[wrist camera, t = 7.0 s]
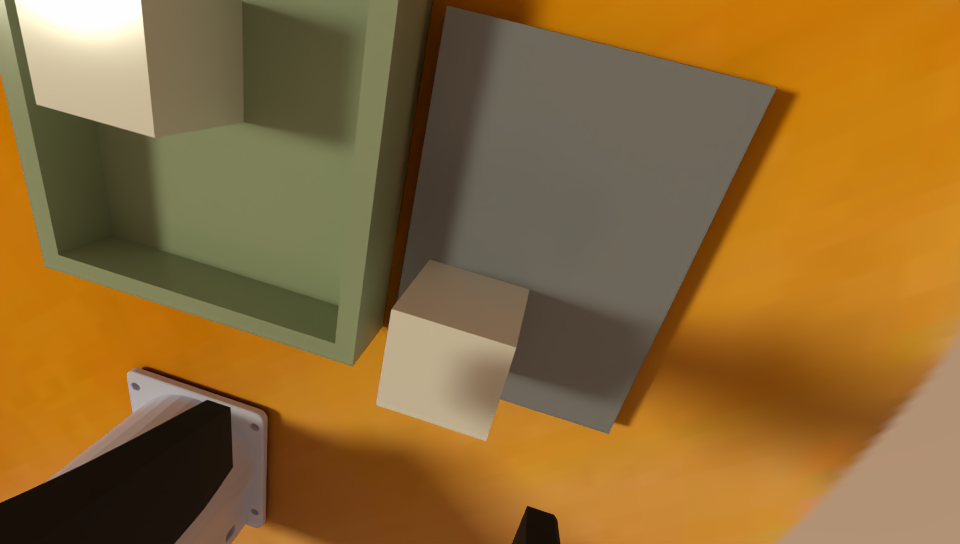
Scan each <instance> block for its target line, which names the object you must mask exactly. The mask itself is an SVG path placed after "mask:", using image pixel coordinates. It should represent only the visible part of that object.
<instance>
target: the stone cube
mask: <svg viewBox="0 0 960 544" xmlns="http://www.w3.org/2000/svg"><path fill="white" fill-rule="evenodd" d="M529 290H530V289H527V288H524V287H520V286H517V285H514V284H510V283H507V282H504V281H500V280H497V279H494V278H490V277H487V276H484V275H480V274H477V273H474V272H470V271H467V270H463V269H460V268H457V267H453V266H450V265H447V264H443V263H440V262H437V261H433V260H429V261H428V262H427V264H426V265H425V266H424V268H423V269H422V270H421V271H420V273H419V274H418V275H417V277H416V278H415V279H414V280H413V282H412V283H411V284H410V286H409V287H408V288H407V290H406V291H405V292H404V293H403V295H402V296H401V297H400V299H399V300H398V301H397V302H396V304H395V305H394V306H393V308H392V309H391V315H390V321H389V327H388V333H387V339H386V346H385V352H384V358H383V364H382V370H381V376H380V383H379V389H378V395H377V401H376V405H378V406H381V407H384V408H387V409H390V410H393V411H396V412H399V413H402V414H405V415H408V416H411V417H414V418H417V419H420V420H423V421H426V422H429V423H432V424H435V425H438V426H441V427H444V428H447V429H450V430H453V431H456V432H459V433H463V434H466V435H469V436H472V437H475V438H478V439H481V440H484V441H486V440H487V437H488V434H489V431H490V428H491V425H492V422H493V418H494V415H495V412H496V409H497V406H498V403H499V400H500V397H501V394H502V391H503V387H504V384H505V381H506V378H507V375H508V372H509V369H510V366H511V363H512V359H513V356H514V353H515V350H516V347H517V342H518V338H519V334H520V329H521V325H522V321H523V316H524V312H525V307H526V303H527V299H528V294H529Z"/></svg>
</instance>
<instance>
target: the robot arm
mask: <svg viewBox="0 0 960 544" xmlns="http://www.w3.org/2000/svg"><path fill="white" fill-rule="evenodd" d="M127 380H128V387H129V393H130V399H131V406H132V412H133V414H131V415H130V416H129V417H128V418H126V419H125V420H124V421H122V422H121V423H120V424H119V425H117V426H116V427H115V428H113V429H112V430H111V431H110V432H108V433H107V434H106V435H104V436H103V437H102V438H101V439H99V440H98V441H97V442H95V443H94V444H93V445H92V446H90V447H89V448H88V449H86V450H85V451H84V452H83V453H81V454H80V455H79V456H77V457H76V458H75V459H74V460H72V461H71V462H70V463H68V464H67V465H66V466H65V467H63V468H62V469H61V470H59V471H58V472H57V473H56V474H54V475H53V476H52V477H51V478H49V479H48V480H47V481H45V482H44V483H43V484H41V485H39V486H37V487H35V488H32V489H30V490H28V491H26V492H24V493H21V494H19V495H17V496H15V497H13V498H10V499H8V500H6V501H4V502H1V503H0V544H231V543H232V542H233V541H234V539H235V538H236V537H237V535H238V534H239V532H240V531H241V530H242V528H243V527H244V526H245V524H247V525H250V526H252V527H255V528H260V527H262V526H263V524H264V523H265V520H266V476H267V427H268V418H267V415H266V413H265V412H264V411H263V410H261V409H258V408H255V407H253V406H250V405H247V404H244V403H241V402H238V401H235V400H232V399H229V398H226V397H223V396H220V395H217V394H214V393H211V392H208V391H205V390H202V389H199V388H196V387H193V386H190V385H187V384H184V383H181V382H179V381H176V380H173V379H170V378H167V377H164V376H161V375H158V374H155V373H152V372H149V371H146V370H143V369H140V368H133V369H132V370H131V371H129V372H128V373H127ZM512 544H560V538H559V531H558V522H557V519H556V517H555V516H554V515H553V514H550V513H547V512H544V511H541V510H538V509H535V508H532V507H529V506H527V508H526V510H525V513H524V515H523V518H522V520H521V523H520V525H519V528H518V530H517V533H516V535H515V538H514V540H513V543H512Z"/></svg>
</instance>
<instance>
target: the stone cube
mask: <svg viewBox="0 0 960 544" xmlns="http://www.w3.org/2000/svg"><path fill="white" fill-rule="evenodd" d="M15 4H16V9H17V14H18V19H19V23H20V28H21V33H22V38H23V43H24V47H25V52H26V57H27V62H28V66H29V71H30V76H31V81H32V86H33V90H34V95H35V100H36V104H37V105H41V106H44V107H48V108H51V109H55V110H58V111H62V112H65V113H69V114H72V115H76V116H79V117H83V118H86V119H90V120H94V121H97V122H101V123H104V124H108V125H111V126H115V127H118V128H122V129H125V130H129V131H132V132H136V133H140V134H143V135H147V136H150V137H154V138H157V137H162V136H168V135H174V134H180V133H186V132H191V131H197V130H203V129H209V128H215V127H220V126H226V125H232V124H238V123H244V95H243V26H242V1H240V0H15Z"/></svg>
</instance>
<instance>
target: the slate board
mask: <svg viewBox="0 0 960 544" xmlns="http://www.w3.org/2000/svg"><path fill="white" fill-rule="evenodd" d="M776 88H777V87H773V86H769V85H765V84H761V83H757V82H753V81H749V80H745V79H741V78H737V77H733V76H729V75H725V74H721V73H717V72H713V71H709V70H705V69H701V68H697V67H693V66H689V65H685V64H681V63H677V62H673V61H669V60H665V59H661V58H657V57H653V56H649V55H645V54H641V53H637V52H633V51H629V50H625V49H621V48H617V47H613V46H609V45H605V44H601V43H597V42H593V41H589V40H585V39H581V38H577V37H573V36H569V35H565V34H561V33H557V32H553V31H549V30H545V29H541V28H537V27H533V26H529V25H525V24H521V23H517V22H513V21H509V20H505V19H501V18H497V17H493V16H489V15H485V14H480V13H476V12H472V11H468V10H464V9H460V8H456V7H452V6H448V5H447V7H446V13H445V19H444V25H443V31H442V37H441V43H440V49H439V55H438V61H437V67H436V72H435V78H434V84H433V90H432V96H431V102H430V108H429V114H428V120H427V126H426V132H425V138H424V144H423V150H422V156H421V162H420V168H419V174H418V180H417V186H416V192H415V198H414V204H413V210H412V216H411V222H410V228H409V234H408V240H407V246H406V252H405V258H404V264H403V270H402V276H401V282H400V287H399V293H398V299H397V301H398V300H399V299H400V297H401V296H402V295H403V293H404V292H405V291H406V290H407V288H408V287H409V286H410V284H411V283H412V282H413V280H414V279H415V278H416V277H417V275H418V274H419V273H420V271H421V270H422V269H423V268H424V266H425V265H426V264H427V262H428V261H429V260H433V261H437V262H440V263H443V264H447V265H450V266H453V267H457V268H460V269H463V270H467V271H470V272H474V273H477V274H480V275H484V276H487V277H490V278H494V279H497V280H500V281H504V282H507V283H510V284H514V285H517V286H520V287H524V288H527V289H530V290H529V294H528V299H527V303H526V307H525V312H524V316H523V321H522V325H521V329H520V334H519V338H518V342H517V347H516V350H515V353H514V356H513V359H512V363H511V366H510V369H509V372H508V375H507V378H506V381H505V384H504V387H503V391H502V394H501V397H500V399H501V400H504V401H508V402H511V403H514V404H517V405H520V406H523V407H526V408H529V409H533V410H536V411H539V412H542V413H545V414H548V415H551V416H554V417H557V418H561V419H564V420H567V421H570V422H573V423H576V424H579V425H582V426H585V427H589V428H592V429H595V430H598V431H601V432H604V433H607V434H609V432H610V430H611V428H612V426H613V424H614V422H615V419H616V417H617V415H618V413H619V411H620V409H621V407H622V405H623V403H624V401H625V399H626V397H627V395H628V393H629V391H630V389H631V387H632V384H633V382H634V380H635V378H636V376H637V374H638V372H639V370H640V368H641V366H642V364H643V362H644V360H645V358H646V356H647V354H648V352H649V350H650V347H651V345H652V343H653V341H654V339H655V337H656V335H657V333H658V331H659V329H660V327H661V325H662V323H663V321H664V319H665V317H666V315H667V313H668V310H669V308H670V306H671V304H672V302H673V300H674V298H675V296H676V294H677V292H678V290H679V288H680V286H681V284H682V282H683V280H684V278H685V275H686V273H687V271H688V269H689V267H690V265H691V263H692V261H693V259H694V257H695V255H696V253H697V251H698V249H699V247H700V245H701V243H702V241H703V238H704V236H705V234H706V232H707V230H708V228H709V226H710V224H711V222H712V220H713V218H714V216H715V214H716V212H717V210H718V208H719V206H720V204H721V201H722V199H723V197H724V195H725V193H726V191H727V189H728V187H729V185H730V183H731V181H732V179H733V177H734V175H735V173H736V171H737V169H738V166H739V164H740V162H741V160H742V158H743V156H744V154H745V152H746V150H747V148H748V146H749V144H750V142H751V140H752V138H753V136H754V134H755V132H756V129H757V127H758V125H759V123H760V121H761V119H762V117H763V115H764V113H765V111H766V109H767V107H768V105H769V103H770V101H771V99H772V97H773V95H774V92H775V90H776Z"/></svg>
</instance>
